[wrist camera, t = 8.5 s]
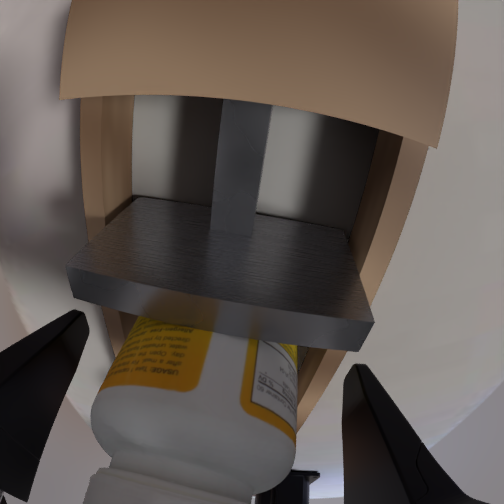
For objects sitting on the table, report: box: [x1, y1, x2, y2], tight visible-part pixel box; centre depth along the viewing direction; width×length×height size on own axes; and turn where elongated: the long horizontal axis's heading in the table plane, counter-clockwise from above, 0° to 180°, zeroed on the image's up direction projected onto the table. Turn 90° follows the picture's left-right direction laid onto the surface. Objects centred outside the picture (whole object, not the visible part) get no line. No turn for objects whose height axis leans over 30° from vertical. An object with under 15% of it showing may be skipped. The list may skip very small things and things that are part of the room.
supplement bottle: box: [83, 316, 298, 504], centre depth 8 cm, size 5×5×10 cm
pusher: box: [65, 99, 375, 352], centre depth 7 cm, size 7×7×4 cm
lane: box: [59, 0, 458, 434], centre depth 11 cm, size 26×10×4 cm, turn 172°
